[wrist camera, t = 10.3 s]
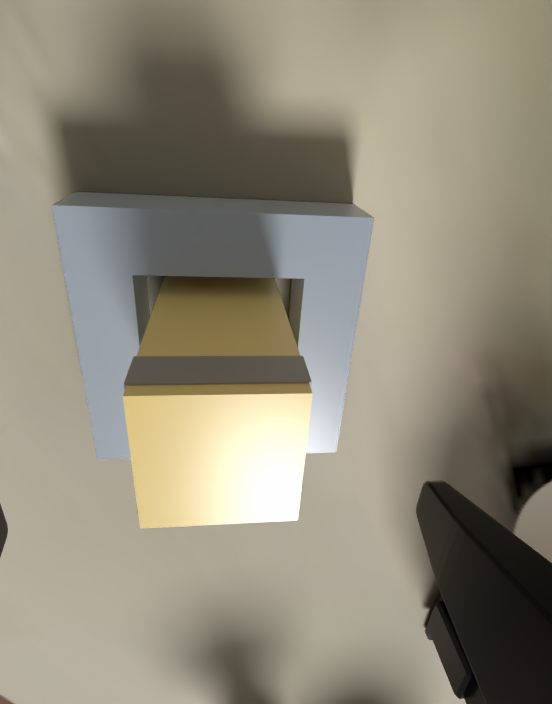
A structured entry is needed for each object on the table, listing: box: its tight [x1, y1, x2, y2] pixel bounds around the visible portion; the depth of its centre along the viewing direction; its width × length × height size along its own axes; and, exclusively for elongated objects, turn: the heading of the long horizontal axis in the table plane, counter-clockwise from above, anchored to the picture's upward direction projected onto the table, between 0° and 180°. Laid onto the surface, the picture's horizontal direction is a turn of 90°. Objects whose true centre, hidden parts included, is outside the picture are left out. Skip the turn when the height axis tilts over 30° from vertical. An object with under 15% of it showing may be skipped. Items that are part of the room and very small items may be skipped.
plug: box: [123, 276, 313, 529], centre depth 14 cm, size 4×4×8 cm
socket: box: [52, 192, 374, 460], centre depth 16 cm, size 9×9×2 cm
